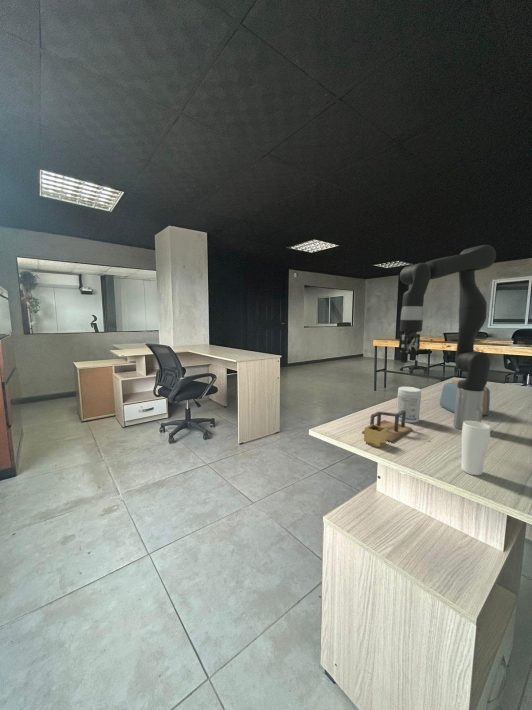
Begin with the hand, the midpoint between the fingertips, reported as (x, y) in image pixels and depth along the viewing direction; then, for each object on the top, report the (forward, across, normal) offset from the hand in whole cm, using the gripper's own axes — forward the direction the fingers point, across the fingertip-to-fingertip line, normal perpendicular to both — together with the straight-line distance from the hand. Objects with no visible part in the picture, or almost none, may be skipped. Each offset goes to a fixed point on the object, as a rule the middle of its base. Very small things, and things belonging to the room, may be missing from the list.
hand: (408, 361), depth 109 cm
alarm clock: (+30, +57, -8) cm, 65 cm away
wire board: (+30, 0, +6) cm, 31 cm away
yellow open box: (+29, -15, +4) cm, 33 cm away
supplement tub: (+30, +21, +6) cm, 37 cm away
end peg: (+30, -15, +4) cm, 34 cm away
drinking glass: (+30, -12, -25) cm, 41 cm away
